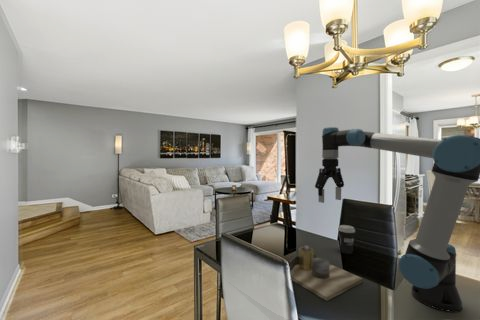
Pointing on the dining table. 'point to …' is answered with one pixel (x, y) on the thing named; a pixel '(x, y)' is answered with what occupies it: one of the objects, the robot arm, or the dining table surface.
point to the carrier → (322, 277)
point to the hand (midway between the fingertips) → (330, 201)
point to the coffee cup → (346, 238)
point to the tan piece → (306, 258)
